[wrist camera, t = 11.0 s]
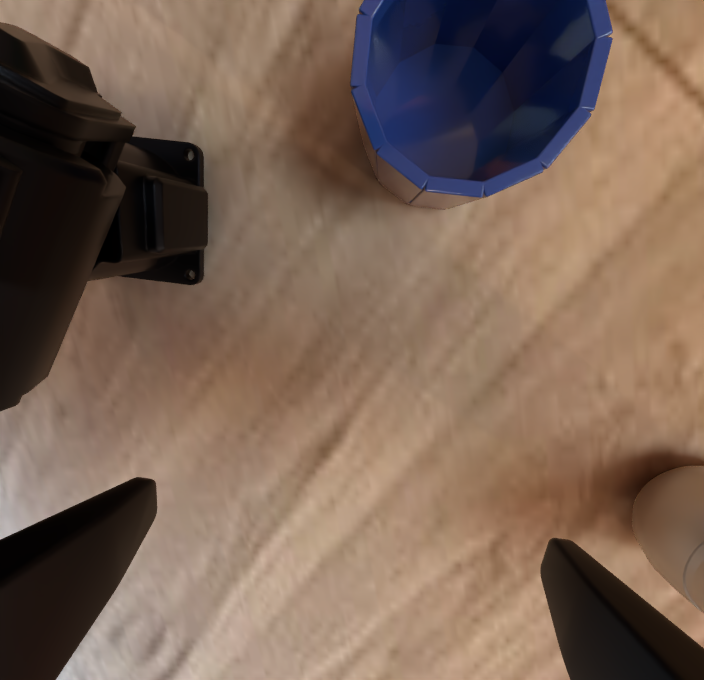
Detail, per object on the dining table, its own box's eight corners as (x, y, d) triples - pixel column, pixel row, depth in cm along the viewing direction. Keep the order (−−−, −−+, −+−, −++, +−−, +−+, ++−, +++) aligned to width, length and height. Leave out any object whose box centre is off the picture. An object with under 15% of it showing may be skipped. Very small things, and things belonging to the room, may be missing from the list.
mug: (356, 199, 18) (340, 182, 11) (381, -40, 15) (381, -247, 9) (499, 215, 18) (570, 207, 11) (549, -26, 15) (682, -227, 8)
